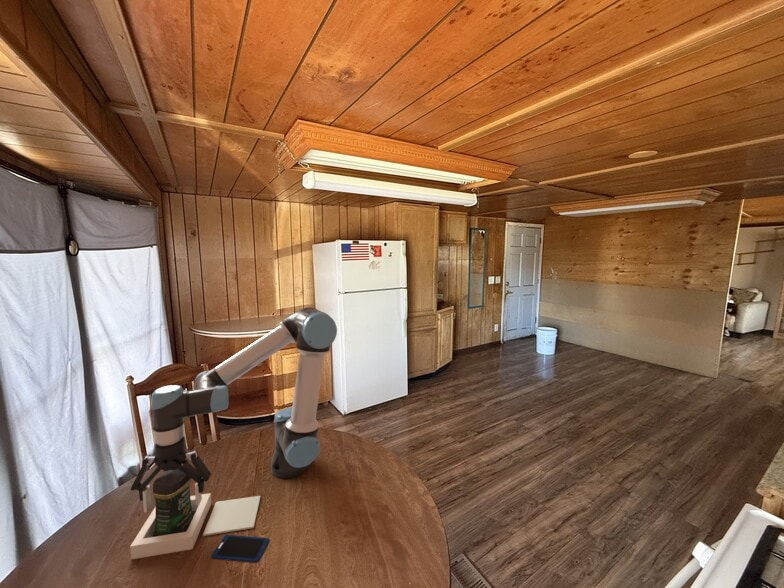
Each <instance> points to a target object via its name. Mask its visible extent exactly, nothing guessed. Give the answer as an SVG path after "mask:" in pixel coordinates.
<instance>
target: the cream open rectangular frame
mask: <svg viewBox="0 0 784 588" xmlns="http://www.w3.org/2000/svg"><path fill="white" fill-rule="evenodd" d="M201 497H202V499H201V501H200V503H199V505H196V500H195V495H190V498H191V505H192V511H193V512H194V514H193V519H192V521H191V523H190V525H189V527H188V528H187V529H186V531H184V532H182V533H175V534H169V535H163V536H156V537H155V536H154V535H155V517H156V506H155V507H154V509H152V511H151V513H150V514H149V516H148V518H147V519H146V520H145V522H144V524H143V525H142V527H141V529H140V530H139V532H138V533H137V535H136V537H135V538H134V540H133V541H132V543H131V544H130V546H129V547H130V559H131V560H136V559H137V560H138V559H142V558H148V557H154V556H159V555H164V554H165V555H166V554H171V553H178V552H184V551H190V550H194V547H195V545H196V543H197V540H198V537H199V534H200V532H201V529H202V527H203V524H205V520H206V517H207V515H208V513H209V510H210V508H211V505H212V494H211V492H210V493H201Z"/></svg>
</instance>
